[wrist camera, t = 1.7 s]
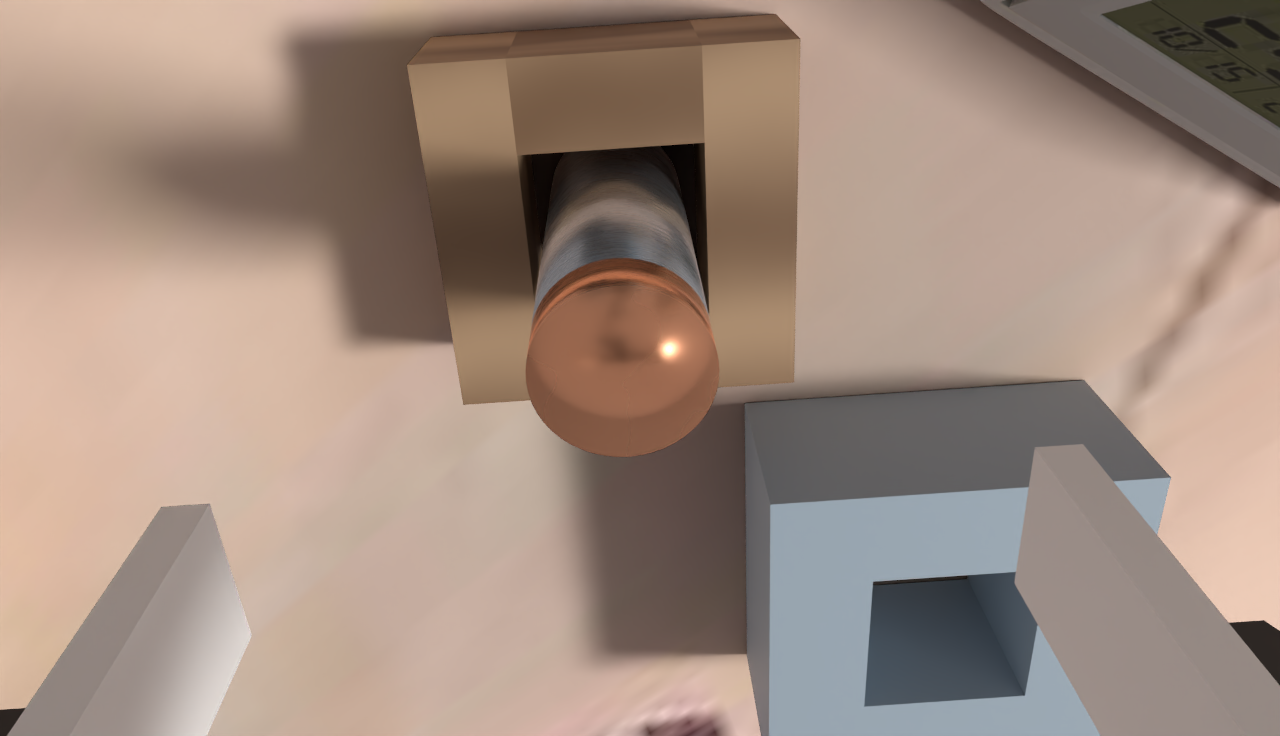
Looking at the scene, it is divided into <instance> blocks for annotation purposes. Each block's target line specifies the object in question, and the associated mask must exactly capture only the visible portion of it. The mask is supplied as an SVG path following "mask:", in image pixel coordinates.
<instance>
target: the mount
mask: <svg viewBox="0 0 1280 736" xmlns="http://www.w3.org/2000/svg"><path fill="white" fill-rule="evenodd" d="M407 69H408V75H409V81H410V87H411V93H412V99H413V105H414V111H415V117H416V123H417V129H418V135H419V141H420V147H421V153H422V159H423V165H424V171H425V177H426V183H427V189H428V195H429V201H430V207H431V213H432V219H433V225H434V231H435V237H436V243H437V249H438V255H439V261H440V267H441V273H442V279H443V285H444V291H445V297H446V303H447V309H448V315H449V321H450V327H451V333H452V339H453V345H454V351H455V357H456V363H457V369H458V375H459V381H460V387H461V393H462V399H463V405H466V404H481V403H495V402H510V401H525V400H531V399H530V397H529V394H528V390H527V385H526V373H525V370H526V360H527V353H528V346H529V339H530V332H531V325H532V318H533V311H534V304H535V297H536V290H537V283H538V277H539V270H540V263H541V256H542V246H541V238H540V229H539V220H538V211H537V202H536V193H535V184H534V175H533V167H532V158H531V154H544V153H559V152H574V151H589V150H604V149H619V148H633V147H648V146H663V145H678V144H693V143H694V169H695V199H696V230H697V265H698V269H699V274H700V278H701V283H702V287H703V292H704V296H705V301H706V305H707V309H708V314H709V318H710V323H711V327H712V332H713V336H714V340H715V345H716V349H717V354H718V358H719V369H720V370H719V383H718V387H732V386H747V385H762V384H776V383H791V382H794V352H795V299H796V245H797V192H798V138H799V85H800V38H799V37H798V36H797V35H796V34H795V33H794V32H793V31H792V30H791V29H790V28H789V27H788V26H787V25H786V24H785V23H784V22H783V21H782V20H781V19H780V18H779V17H778V16H777V15H776V14H771V15H756V16H741V17H726V18H711V19H696V20H681V21H666V22H651V23H636V24H621V25H606V26H591V27H576V28H561V29H546V30H531V31H516V32H501V33H486V34H471V35H456V36H441V37H431V38H430V39H429V40H428V41H427V42H426V44H425V45H424V46H423V47H422V48H421V49H420V50H419V52H418V53H417V54H416V55H415V56H414V57H413V59H412V60H411V61H410V62H409V63H408V64H407Z"/></svg>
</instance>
